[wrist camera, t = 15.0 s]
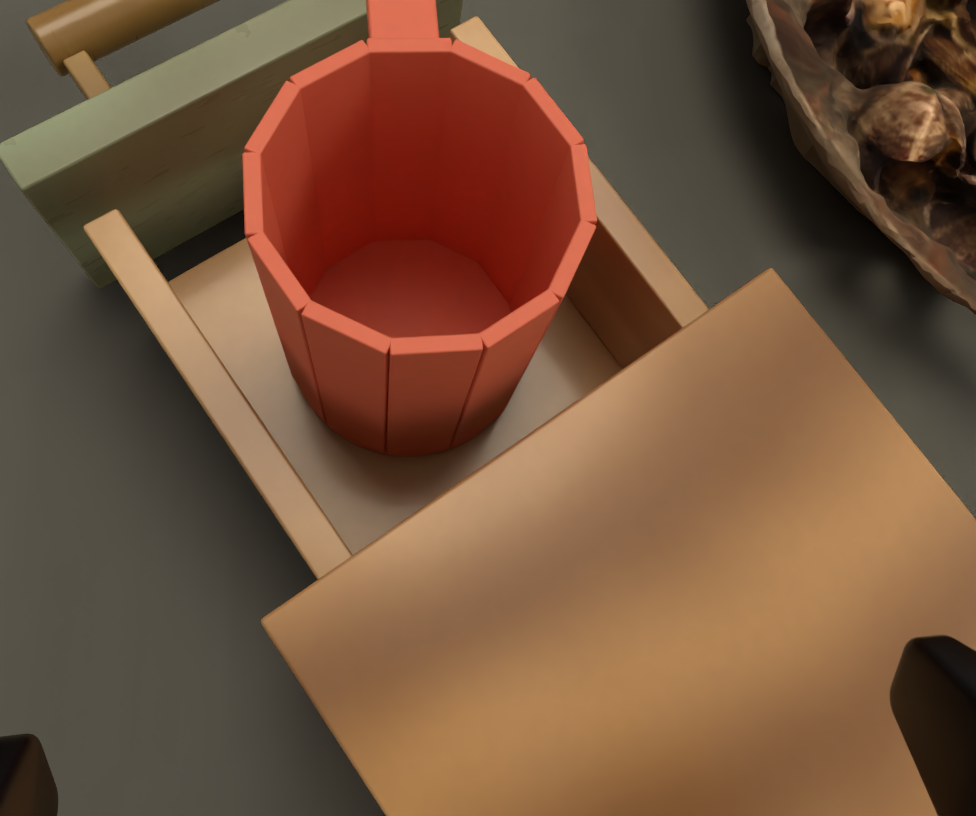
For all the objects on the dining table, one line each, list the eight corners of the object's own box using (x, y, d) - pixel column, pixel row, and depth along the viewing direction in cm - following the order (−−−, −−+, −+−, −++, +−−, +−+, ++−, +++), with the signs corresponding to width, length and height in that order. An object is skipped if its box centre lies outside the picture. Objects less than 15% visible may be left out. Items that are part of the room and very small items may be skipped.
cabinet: (295, 627, 22) (258, 620, 15) (668, 365, 25) (772, 265, 18) (644, 1159, 20) (776, 1418, 13) (1006, 803, 23) (1260, 867, 16)
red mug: (533, 448, 22) (615, 343, 14) (296, 465, 21) (248, 363, 13) (499, 152, 24) (554, -80, 16) (282, 157, 23) (234, -84, 15)
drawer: (-3, 136, 23) (-107, -2, 18) (349, -38, 26) (342, -198, 21) (363, 689, 21) (358, 702, 16) (711, 432, 24) (799, 375, 19)
